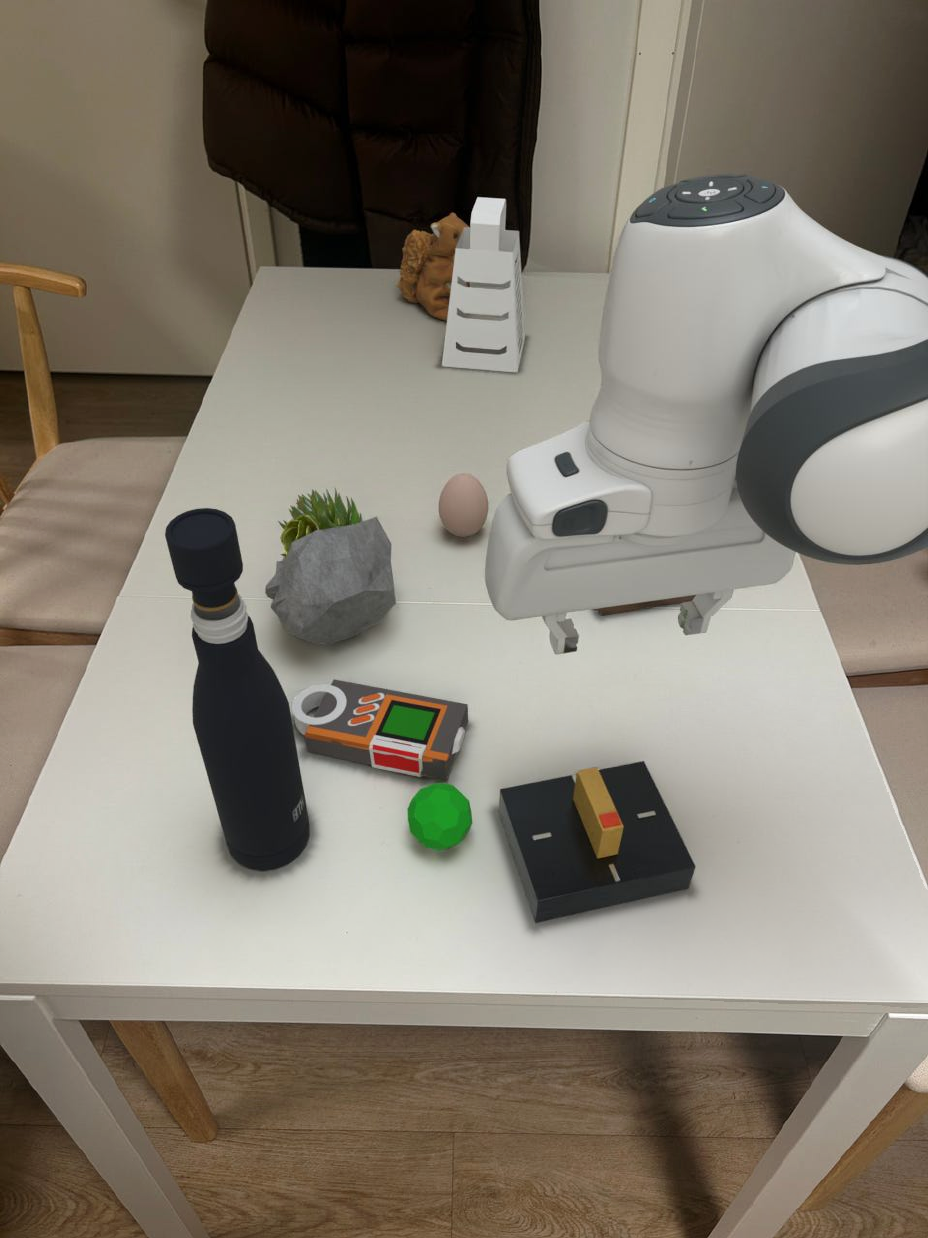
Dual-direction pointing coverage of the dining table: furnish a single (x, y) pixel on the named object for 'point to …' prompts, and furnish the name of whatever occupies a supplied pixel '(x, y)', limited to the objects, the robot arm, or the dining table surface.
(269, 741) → the insulated water bottle
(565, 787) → the block
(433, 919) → the dining table surface
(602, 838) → the tap handle
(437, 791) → the polyhedron
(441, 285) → the stuffed squirrel
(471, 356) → the grater
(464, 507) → the egg
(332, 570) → the potted plant
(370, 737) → the electronic device
